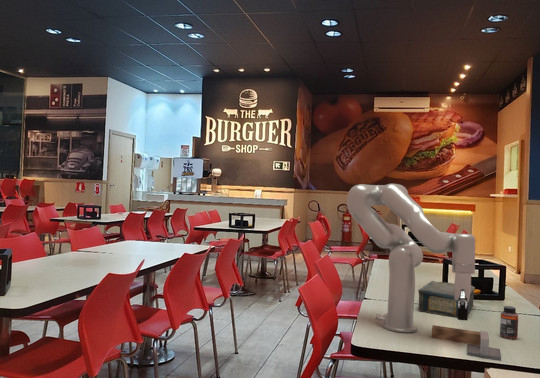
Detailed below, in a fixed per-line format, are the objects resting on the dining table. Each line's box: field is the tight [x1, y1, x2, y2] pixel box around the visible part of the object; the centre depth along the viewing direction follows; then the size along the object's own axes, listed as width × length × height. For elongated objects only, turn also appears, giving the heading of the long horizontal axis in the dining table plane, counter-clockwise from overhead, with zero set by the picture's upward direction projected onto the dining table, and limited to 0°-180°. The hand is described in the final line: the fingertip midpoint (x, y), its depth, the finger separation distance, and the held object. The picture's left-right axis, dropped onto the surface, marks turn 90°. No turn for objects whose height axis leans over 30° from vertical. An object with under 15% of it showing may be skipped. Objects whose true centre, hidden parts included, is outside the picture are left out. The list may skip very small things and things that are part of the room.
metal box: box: [417, 280, 476, 318], centre depth 225 cm, size 21×32×10 cm, turn 152°
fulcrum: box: [466, 330, 502, 362], centre depth 161 cm, size 10×10×6 cm
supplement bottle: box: [499, 305, 519, 340], centre depth 182 cm, size 6×6×11 cm
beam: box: [431, 325, 480, 346], centre depth 174 cm, size 18×4×4 cm, turn 68°
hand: (462, 317), depth 173 cm, fingers open, 9 cm apart
